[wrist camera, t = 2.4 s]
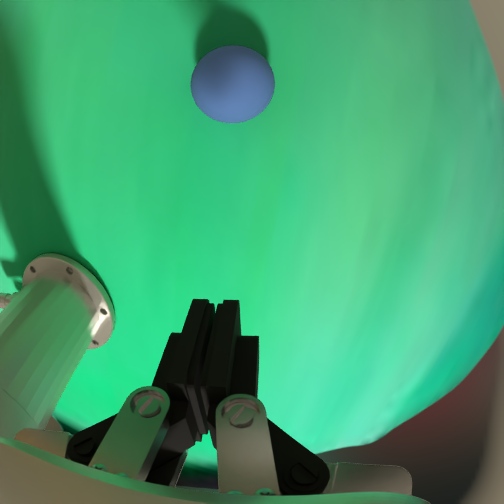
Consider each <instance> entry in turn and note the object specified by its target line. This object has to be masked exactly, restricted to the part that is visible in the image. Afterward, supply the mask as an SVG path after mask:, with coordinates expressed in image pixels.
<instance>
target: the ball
mask: <svg viewBox="0 0 504 504" xmlns="http://www.w3.org/2000/svg"><path fill="white" fill-rule="evenodd" d="M274 87H275V81H274V75H273V71H272V69H271V67H270V65H269V63H268V62H267V61H266V59H265V58H264V57H263V56H262V55H260V54H259V53H258V52H256V51H254V50H253V49H250V48H248V47H244V46H238V45H228V46H223V47H219V48H216V49H214V50H212V51H210V52H209V53H207V54H206V55H205V56H204V57H203V58H202V59H201V60H200V61H199V62H198V64H197V65H196V67H195V69H194V71H193V74H192V78H191V92H192V96H193V98H194V101H195V103H196V104H197V106H198V107H199V109H200V110H201V111H202V112H203V113H204V114H206V115H207V116H209V117H210V118H212V119H214V120H217V121H220V122H225V123H240V122H244V121H247V120H250V119H252V118H254V117H256V116H257V115H259V114H260V113H261V112H262V111H263V110H264V109H265V108H266V107H267V105H268V104H269V102H270V101H271V99H272V96H273V93H274Z"/></svg>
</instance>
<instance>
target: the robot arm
mask: <svg viewBox="0 0 504 504" xmlns="http://www.w3.org/2000/svg"><path fill="white" fill-rule="evenodd" d="M22 283H23V288H22V289H21V290H20V291H19V292H15V293H13V294H12V295H11V294H9V293H0V308H3V309H4V310H3V311H2V312H1V313H0V504H430V503H429V502H427V501H425V500H423V499H420V498H417V497H414V496H411V491H412V480H411V476H410V474H409V473H408V471H407V470H405V469H403V468H402V467H398V466H389V465H369V464H355V463H344V462H338V463H337V464H333V463H325V462H324V461H323V460H322V459H320V458H319V457H318V456H316V455H315V454H313V453H312V452H311V451H309V450H308V449H307V448H305V447H304V446H303V445H301V444H300V443H299V442H297V441H296V440H295V439H293V438H292V437H291V436H289V435H288V434H287V433H285V432H284V431H283V430H282V429H280V428H279V427H278V426H277V425H275V424H274V423H273V422H272V421H270V420H269V419H268V418H267V415H266V410H265V407H264V405H263V403H262V402H261V401H260V400H259V399H257V393H258V373H259V336H241V324H240V305H239V300H224V301H223V304H218V305H217V309H216V313H215V306H214V303H209V300H208V299H193V300H192V303H191V306H190V309H189V312H188V315H187V318H186V321H185V323H184V326H183V329H182V332H181V333H173V332H172V333H171V334H170V336H169V339H168V342H167V344H166V347H165V350H164V352H163V355H162V358H161V361H160V364H159V366H158V369H157V372H156V375H155V378H154V380H153V383H152V386H146V387H141V388H138V389H136V390H135V391H133V392H132V393H131V394H130V395H129V396H128V397H127V399H126V401H125V402H124V404H123V406H122V408H121V409H120V411H119V413H117V414H115V415H113V416H111V417H109V418H107V419H105V420H103V421H101V422H99V423H97V424H95V425H93V426H91V427H88V428H86V429H84V430H82V431H80V432H78V433H76V434H75V435H71V434H70V433H69V432H57V431H48V430H44V429H45V427H46V425H47V423H48V421H49V419H50V417H51V415H52V413H53V411H54V409H55V407H56V405H57V403H58V401H59V399H60V397H61V395H62V393H63V392H64V390H65V388H66V386H67V384H68V382H69V380H70V379H71V377H72V375H73V373H74V371H75V370H76V368H77V366H78V364H79V362H80V361H81V359H82V357H83V355H84V354H85V352H86V350H87V349H95V348H98V347H101V346H102V345H104V344H105V343H106V342H107V341H108V340H109V338H110V337H111V335H112V332H113V330H114V327H115V313H114V309H113V305H112V303H111V300H110V298H109V296H108V294H107V292H106V291H105V289H104V288H103V286H102V285H101V284H100V282H99V281H98V280H97V279H96V277H95V276H94V275H93V274H92V273H90V272H89V271H88V270H87V269H86V268H85V267H83V266H82V265H81V264H79V263H78V262H76V261H74V260H73V259H71V258H69V257H66V256H63V255H60V254H54V253H48V254H42V255H40V256H38V257H36V258H35V259H34V260H32V261H31V262H30V263H29V264H28V266H27V267H26V269H25V271H24V274H23V280H22ZM208 431H210V435H211V439H212V443H213V446H214V448H215V449H216V450H217V462H218V481H219V493H213V492H203V491H196V490H188V489H182V488H175V485H176V483H177V480H178V478H179V475H180V473H181V470H182V467H183V465H184V462H185V460H186V457H187V454H188V449H189V448H190V447H192V446H194V445H195V442H196V441H199V442H201V441H202V435H203V434H208Z"/></svg>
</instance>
